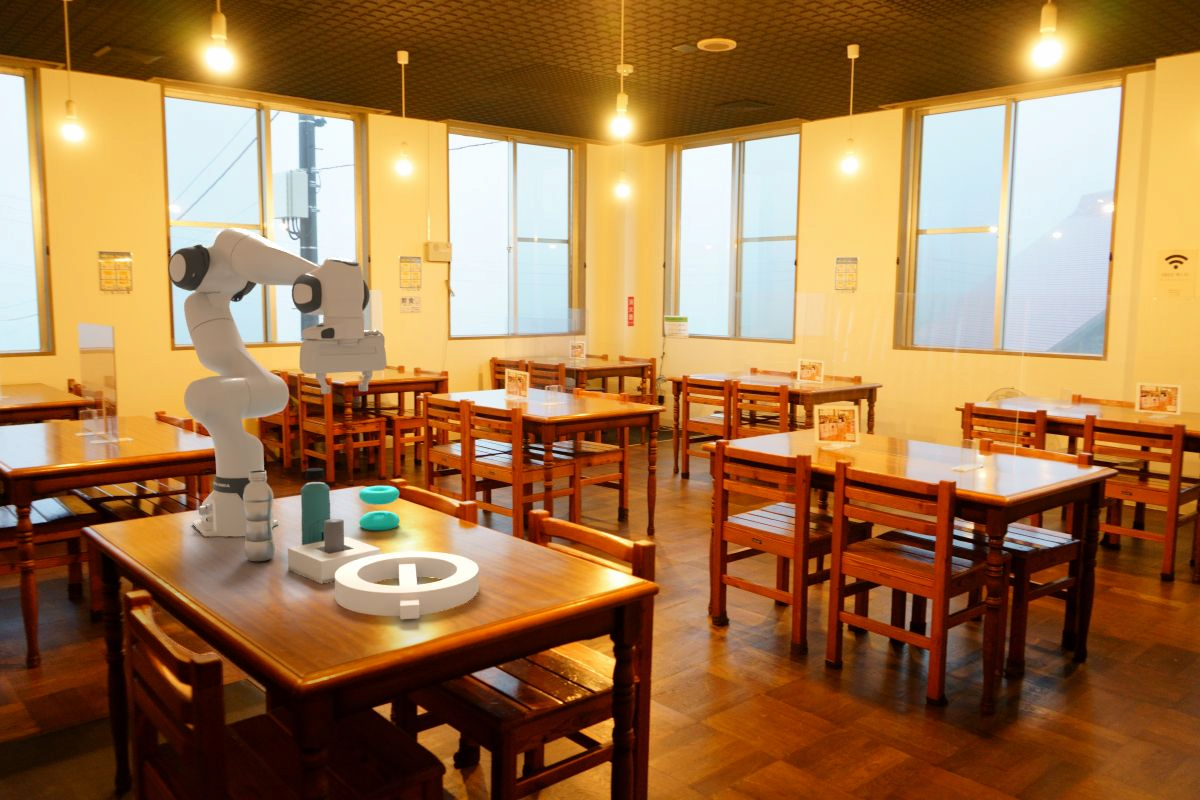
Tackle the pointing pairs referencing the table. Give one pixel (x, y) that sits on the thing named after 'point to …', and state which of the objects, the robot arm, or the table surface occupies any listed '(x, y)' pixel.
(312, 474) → the beverage bottle
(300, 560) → the stand
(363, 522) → the donuts
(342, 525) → the grey rectangular block
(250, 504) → the plastic bottle
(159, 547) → the table surface
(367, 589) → the white circle with bar
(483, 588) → the table surface
